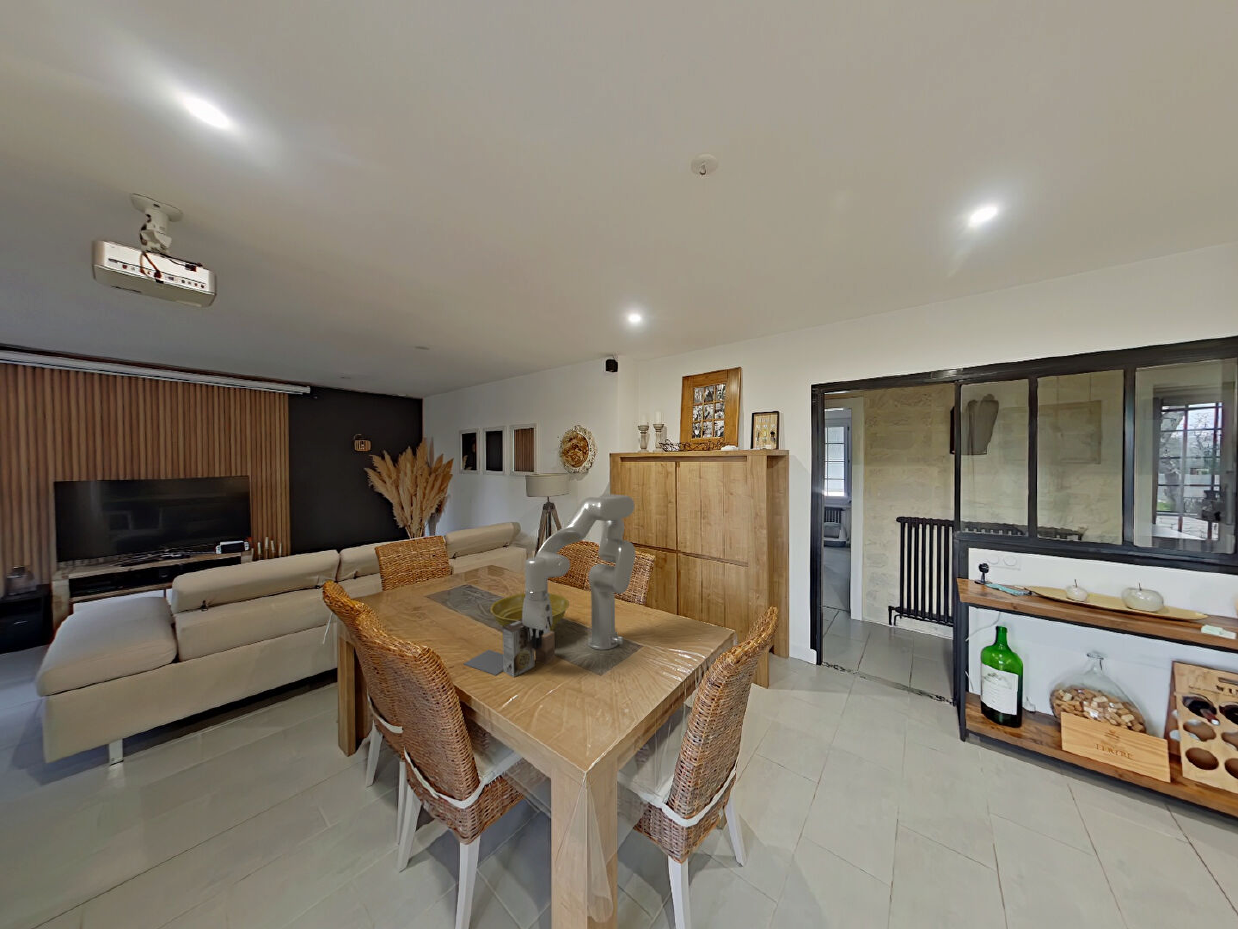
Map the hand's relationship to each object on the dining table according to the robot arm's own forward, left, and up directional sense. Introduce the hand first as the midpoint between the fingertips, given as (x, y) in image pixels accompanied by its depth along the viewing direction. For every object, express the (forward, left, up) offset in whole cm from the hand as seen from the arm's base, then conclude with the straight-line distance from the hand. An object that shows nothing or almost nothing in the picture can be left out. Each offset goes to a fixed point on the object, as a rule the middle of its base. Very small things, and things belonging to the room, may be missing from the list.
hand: (536, 647), depth 138 cm
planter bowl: (+22, -23, -10) cm, 33 cm away
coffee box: (+8, 0, -10) cm, 13 cm away
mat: (+20, +1, -10) cm, 22 cm away
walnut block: (+4, -10, -10) cm, 14 cm away
